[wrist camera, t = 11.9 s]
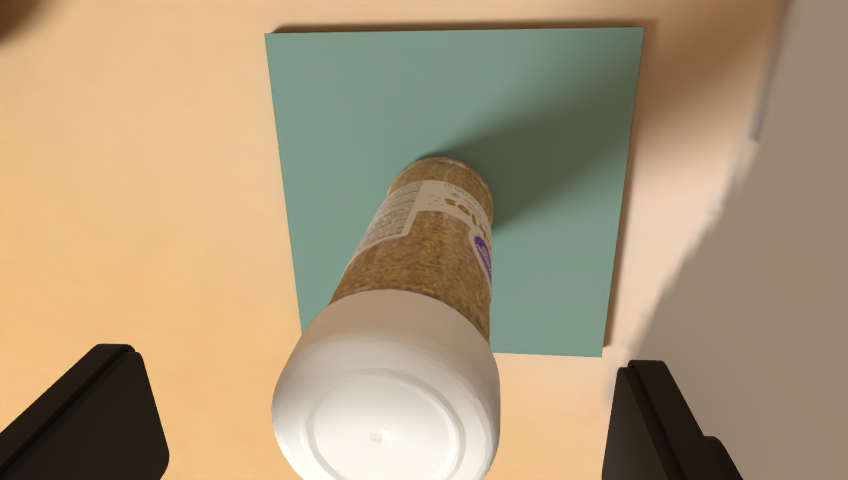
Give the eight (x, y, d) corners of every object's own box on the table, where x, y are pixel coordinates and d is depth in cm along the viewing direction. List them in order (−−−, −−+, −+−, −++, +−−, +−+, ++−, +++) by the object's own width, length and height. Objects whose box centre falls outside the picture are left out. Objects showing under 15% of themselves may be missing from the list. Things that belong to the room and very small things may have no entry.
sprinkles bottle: (514, 221, 22) (548, 477, 10) (425, 273, 24) (359, 554, 12) (452, 130, 21) (406, 294, 9) (362, 191, 23) (215, 405, 10)
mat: (306, 336, 27) (303, 343, 26) (269, 33, 21) (264, 33, 21) (598, 349, 25) (601, 357, 25) (640, 26, 20) (644, 27, 19)
